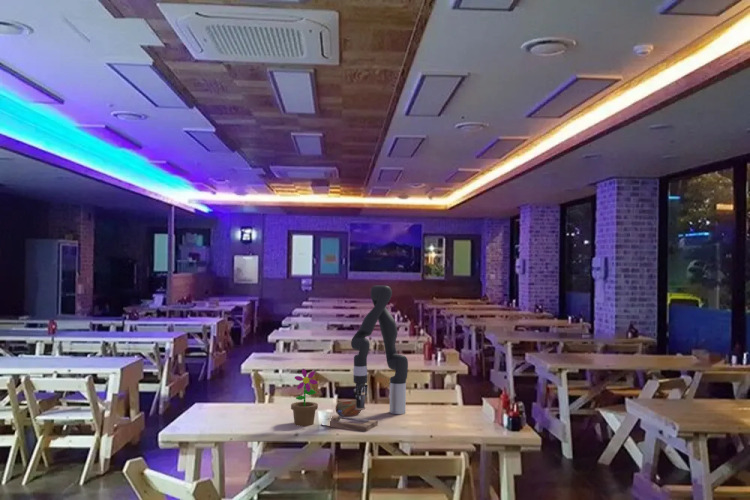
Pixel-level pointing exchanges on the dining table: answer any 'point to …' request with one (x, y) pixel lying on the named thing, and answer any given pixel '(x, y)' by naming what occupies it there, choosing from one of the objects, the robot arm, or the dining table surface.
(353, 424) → the framed panel with rod
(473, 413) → the dining table surface
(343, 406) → the tin
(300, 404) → the flowerpot
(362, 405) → the spool
